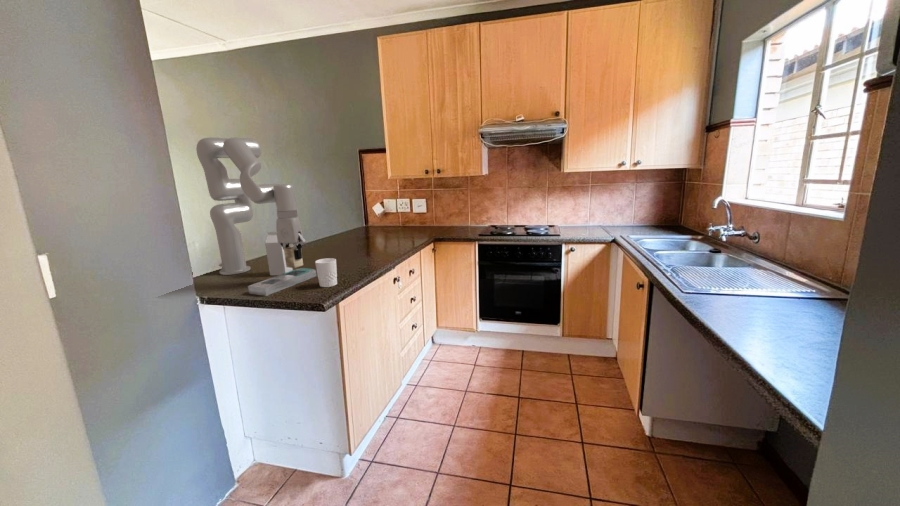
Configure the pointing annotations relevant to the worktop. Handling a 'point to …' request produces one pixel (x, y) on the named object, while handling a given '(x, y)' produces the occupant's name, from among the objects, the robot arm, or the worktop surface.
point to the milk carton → (275, 255)
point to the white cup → (326, 272)
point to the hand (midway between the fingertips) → (293, 258)
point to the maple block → (292, 258)
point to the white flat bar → (281, 281)
